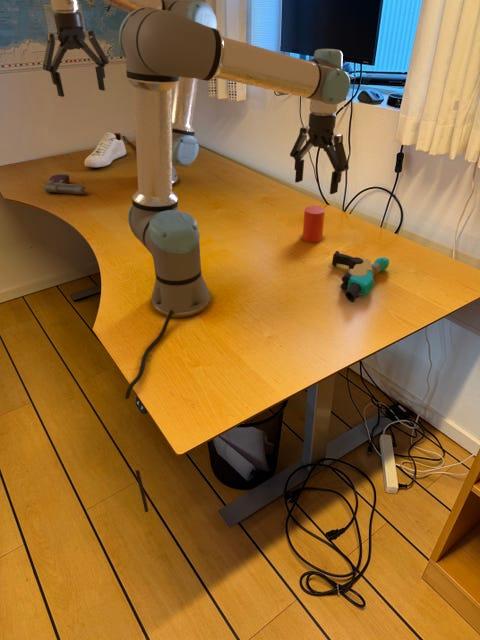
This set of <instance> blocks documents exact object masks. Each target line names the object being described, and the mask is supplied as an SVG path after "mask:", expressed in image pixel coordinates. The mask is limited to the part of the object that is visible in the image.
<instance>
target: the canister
mask: <svg viewBox="0 0 480 640" xmlns="http://www.w3.org/2000/svg"><path fill="white" fill-rule="evenodd" d="M325 213H326V209H325V208H324V207H323V206H319V205H309V206H306V207H304V211H303V224H302V240H303V241H305V242H307V243H318V242H319V243H320V242H321V241H322V240H323V236H324V235H323V234H324V225H325V224H324V223H325V216H326V215H325Z"/></svg>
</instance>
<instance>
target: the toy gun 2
mask: <svg viewBox="0 0 480 640" xmlns="http://www.w3.org/2000/svg"><path fill="white" fill-rule="evenodd" d="M331 265H332V266H334V267H335V266H337V265H342V266H347V267H348V271H347V272H345V273H344V274H343V276H342V277H341V282H342V283H341V284H340V289H341V290H342V291H344V292H345V293H344V296H345V298H346V299H347V300H348V302H350V303H354V302H355V301H356V300H357V299H358V298H359V297H360V295H361V296H366V295H367V294H369V293H370V292H371V291H372V289H373V288H374V286H375V279H374V276H376V275H377V274H378V273H379V272H384V271H385V270H386V269H388V268H389V265H390V259H389V258H388V257H386V256H385V257H384V256H380V257H378V258H376V259H375V260H374V263H373V262H372V260H370V259H368V258H362V257H358V256H357V257H353V256H351V255H348V254H345V253H342V252H341V253H340V251H339V250H336V251H335V252H334V254H333V255H332V262H331Z"/></svg>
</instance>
